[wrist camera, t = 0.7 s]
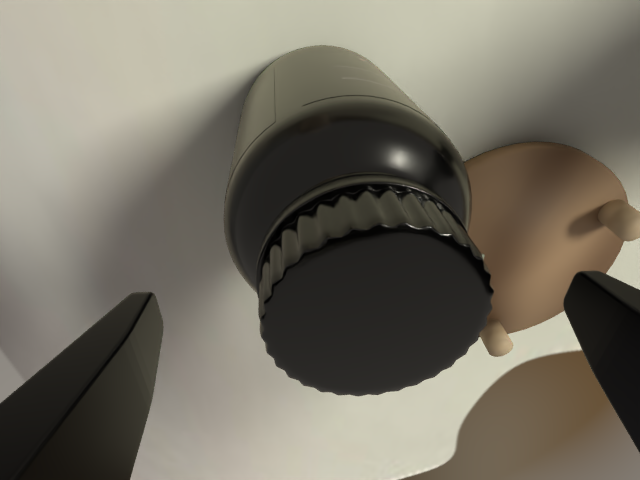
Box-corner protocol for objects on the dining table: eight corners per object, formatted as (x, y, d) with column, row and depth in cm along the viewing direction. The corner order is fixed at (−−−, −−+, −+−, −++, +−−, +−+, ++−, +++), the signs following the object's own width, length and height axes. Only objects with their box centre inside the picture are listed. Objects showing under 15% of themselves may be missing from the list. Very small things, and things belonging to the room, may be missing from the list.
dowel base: (656, 138, 20) (701, 160, 18) (570, 319, 27) (596, 351, 24) (408, 145, 19) (425, 169, 17) (385, 330, 26) (394, 364, 24)
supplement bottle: (342, 217, 21) (399, 451, 11) (215, 152, 18) (143, 378, 9) (430, 98, 18) (618, 274, 8) (293, 1, 15) (322, 82, 6)
